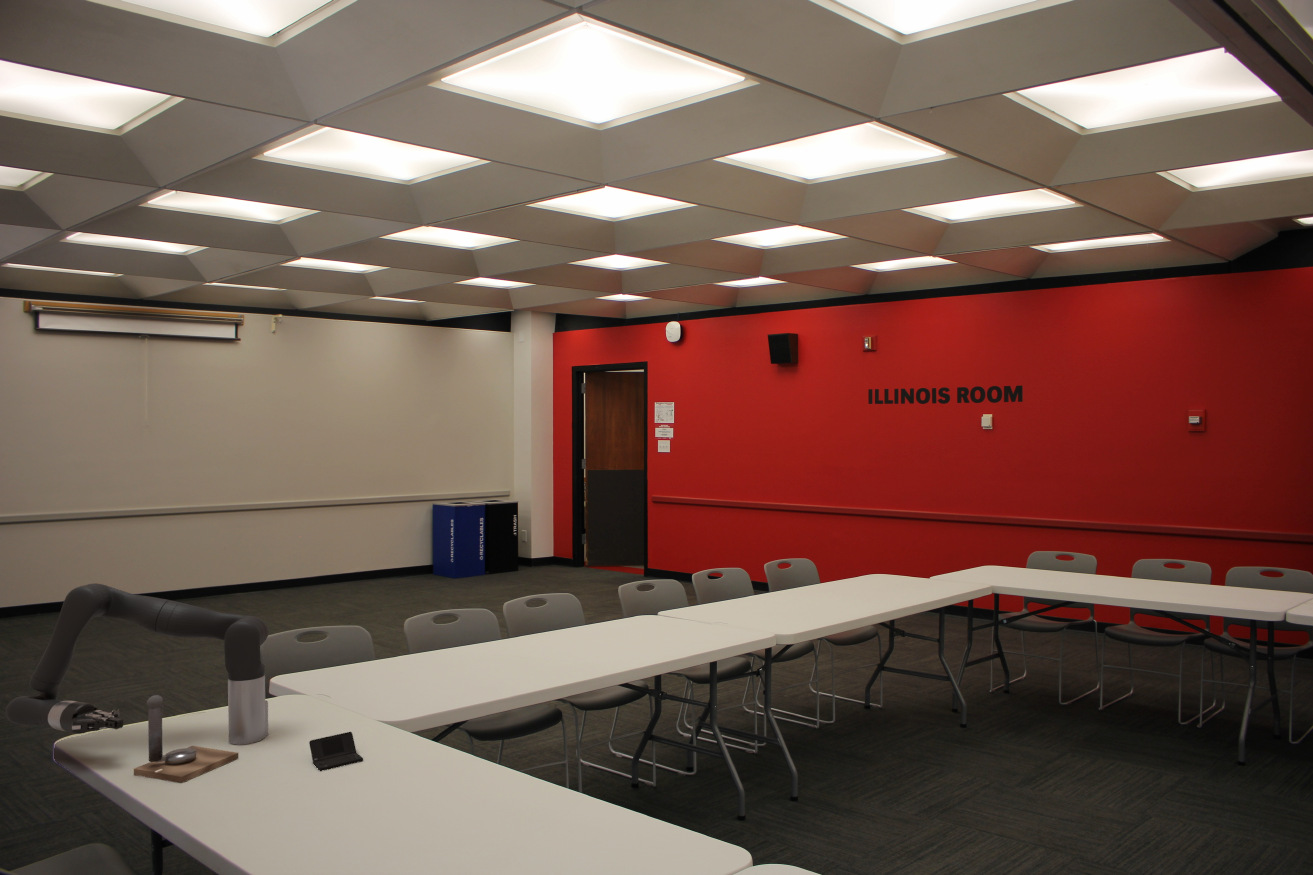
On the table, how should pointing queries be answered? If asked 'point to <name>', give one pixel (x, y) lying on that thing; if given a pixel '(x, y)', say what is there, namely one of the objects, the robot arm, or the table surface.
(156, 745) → the grey upright post stand
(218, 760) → the walnut stand base
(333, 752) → the handheld gaming console
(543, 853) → the table surface
